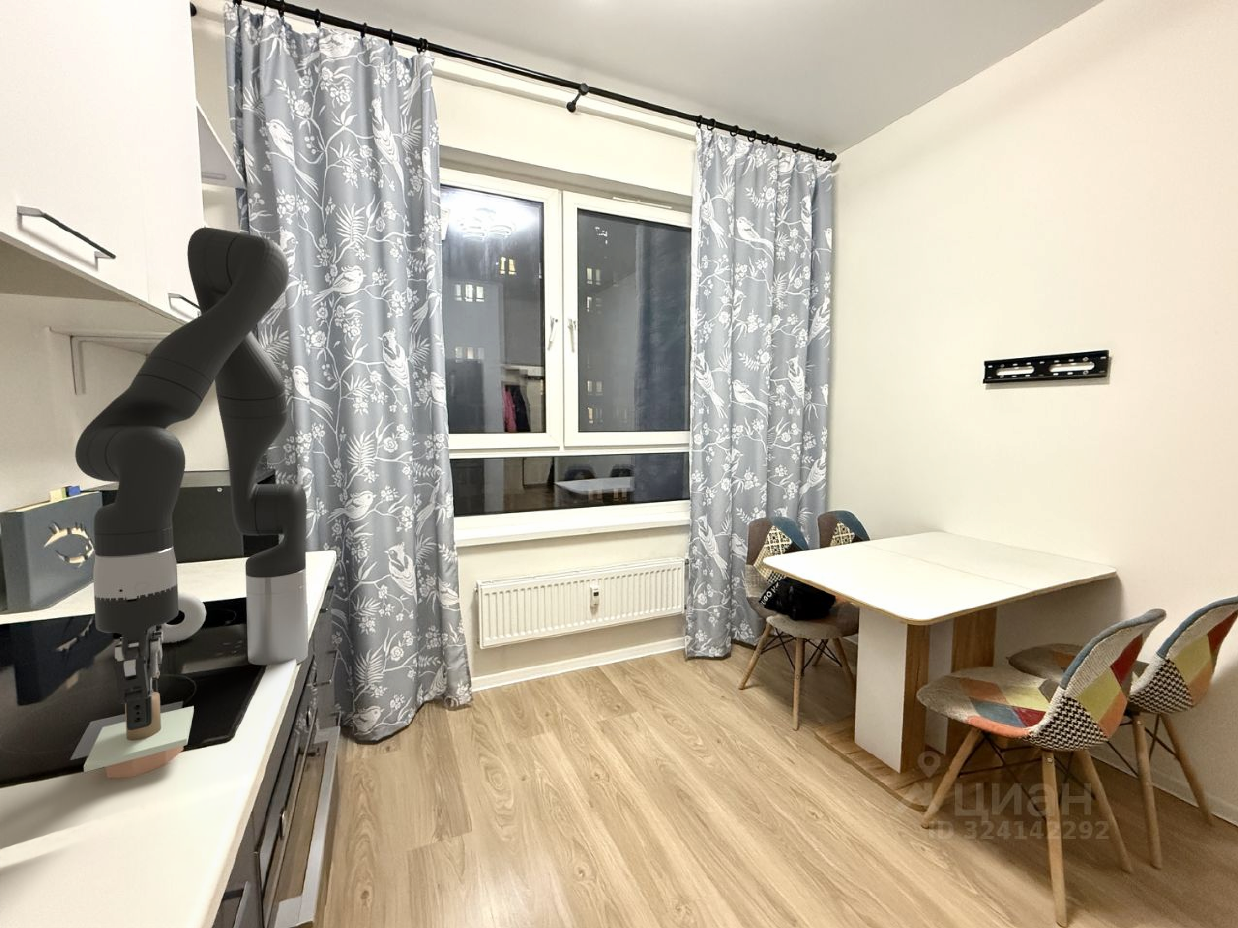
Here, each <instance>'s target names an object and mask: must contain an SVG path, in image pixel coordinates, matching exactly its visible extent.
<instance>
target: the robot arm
mask: <svg viewBox="0 0 1238 928" xmlns="http://www.w3.org/2000/svg"><path fill="white" fill-rule="evenodd" d="M187 264H188V272H189V275H190V279H191V283H192V286H193V290H194V295H195V296H196V297H195V298H196V300H197V304H198V307H199V311H200V315H199V316H197V317H196V318H194V319H192V320H190V321H189V322H187V323H185V324H184V325H182V326H180V327H178V328H177V329H175V330H174V331H172V332H171V333H169V334H168V335H167V336H166V337H164V338H163V339H161V341H159V343H157V344H156V345H155V347H154V348H153V349H152V351H151V352H150V353H149V354H148V356H147V357H146V360H145V361H144V362H143V364H142V365H141V367H140V369H139V370H138V371H137V373H136V375H135V376H134V378H133V380H132V382H130V385H129V386H128V388H126V389H125V390H124V392H122V393H121V394H120V395H119V396H117V397H116V398H115V399H114V400H112V401H111V403H109V404H108V405H107V406H106V407H105V408H104V409H103V410H102V411H101V412H100V413H98V415H97V416H95V418H93V419H92V421H91V422H90V423H89V424H88V425H87V426H86V427H85V428H84V429H83V431H82V433H81V434H80V436H79V438H78V440H77V443H76V444H75V445H76V446H75V452H74V457H75V458H74V459H75V461H76V463H77V466H78V468H79V469H80V470H81V471H82V473H84V474H85V475H86V476H88V477H89V478H92V479H95V480H99V481H103V482H110V483H112V482H113V483H114V482H115V483H118V488H117V491H116V492H117V493H116V496H115V501H114V502H113V503H109V504H107V505H104V506H103V505H102V507H100V508H99V509H98V510H97V511H96V512H95V515H94V516H93V517H94V518H93V533H94V535H93V536H94V552H95V553H94V564H93V573H92V574H93V576H92V577H93V600H94V617H95V619H94V620H95V628H96V630H97V631H99V632H102V633H106V634H113V633H115V634H120V635H122V636H121V637H119V641H118V642H119V643H118V644H115V646H114V658H115V659H116V660H117V661H115V664H113V670H114V671H115V679H116V685H117V686H116V687H117V693H118V702H119V704H120V705H123V704H124V705H125V703H126V714H127V729H128V730H135V729H139V728H143V727H147V726H149V725H150V724H151V722H152V693H153V692H157V693H159V692H158V679H159V676H160V675H161V674H160V673H161V671H160V670H159V669H161V666H162V659H163V648H162V644H163V642H162V641H163V631H161V629H162V624H165V623H166V624H167V623H170V621H172V620H174V619H175V618H176V617H178V615H179V612H180V610H179V608H178V593H179V589H178V587H179V586H178V564H177V560H176V554H175V549H174V528H173V526H174V525H173V512H174V510H175V506H176V504H177V501H178V498H179V493H180V490H181V486H182V483H183V479H184V474H185V470H186V455H185V450H184V447H183V445H182V443H181V442H180V440H179V438H178V437H177V436H176V435H175V434H174V433H173V432H171V431H170V430H167V428H168V427H170V426H171V425H173V424H177V423H180V422H182V421H186V420H188V419H190V418H192V417H193V416H194V415H195V414H196V412H197V411H198V409H199V408H200V406H201V405H202V403H203V402H204V399H205V398H206V395H207V394H208V392H209V390H210V389H211V387H212V385H213V383H214V382H215V383H214V384H215V385H214V386H215V393H216V400H217V404H218V405H217V406H218V412H219V416H220V421H221V425H222V430H223V436H224V440H225V445H226V451H227V452H226V455H227V458H228V459H227V460H228V469H229V470H228V471H229V485H230V496H231V499H230V500H231V510H232V518H233V523H234V526H235V528H236V530H237V532H238V533H240V534H241V535H243V536H270V535H283V540H282V542H280V543H278V544H277V545H276V546H273V547H271V548H268V549H266V550H263V551H260V552H257V553H254V554H253V555H251V556H249V557H248V558H247V559H246V561H245V564H244V566H245V567H244V568H245V591H246V623H247V624H246V628H247V630H246V631H247V633H246V634H247V661H248V663H250V664H252V665H257V666H270V665H271V666H272V665H278V664H283V663H286V662H289V661H292V660H295V663H296V665H299V664H301V663H302V662H303V661H306V659H307V658H308V654H309V653H308V651H309V624H308V622H309V616H308V614H309V613H308V603H307V602H308V599H307V598H308V597H307V593H308V592H307V560H306V559H307V558H306V557H307V556H306V551H307V549H306V546H307V545H306V542H307V541H306V533H307V531H306V530H307V529H306V528H307V511H308V510H307V507H308V504H307V493H306V490H305V489H304V487H303V486H302V485H300V484H298V483H264V484H263V483H262V484H258V483H257V481H256V473H257V468H258V467H259V465H260V463H261V461H262V459H263V457H264V456H265V454H266V453H267V451H268V449H270V447H271V446H272V445H273V443H274V441H275V440H276V439H277V438H278V437H279V435H280V433H281V432H282V430H283V429H284V427H285V424H286V422H287V419H288V408H287V407H288V405H287V397H286V396H287V394H286V387H285V382H284V379H283V377H282V374H281V373H280V371H279V368H277V366H276V365H275V363H274V361H273V360H272V359H271V357H270V356H269V355H268V353H267V352H266V350H265V349H264V348H263V347H262V345H261V344H260V343H259V341H258V340H257V337H255V335H254V333H253V331H252V330H254V329H255V327H256V326H257V325H258V324H259V323H260V321H261V320H262V319H263V318H264V316H265V315H266V314H267V313H268V312H269V311H270V310H271V309H272V307H273V306H274V305H275V304H276V302H277V301H278V300H279V299H280V297H281V296H282V294H283V293H284V291H285V289H286V287H287V285H288V281H289V277H290V276H289V275H290V270H289V269H290V268H289V267H290V266H289V262H288V258H287V256H286V253H285V252H284V250H283V249H282V247H280V245H279V244H277V242H275V241H274V240H272V239H269V238H267V237H266V238H265V237H263V236H260V235H259V236H258V235H255V234H249V233H242V232H237V231H231V230H226V229H220V228H214V227H201V228H198V229H196V230H195V231H194V232H193V233H192V234H191V236H190V238H189V240H188V244H187ZM131 688H132V689H131Z"/></svg>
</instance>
